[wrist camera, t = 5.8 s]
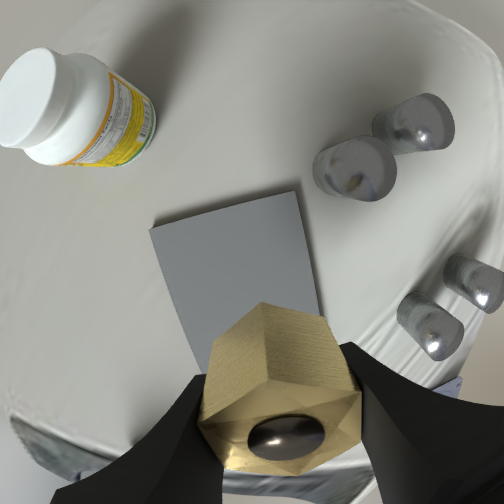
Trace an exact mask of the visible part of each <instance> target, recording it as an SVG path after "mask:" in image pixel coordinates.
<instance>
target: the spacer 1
mask: <svg viewBox="0 0 504 504" xmlns="http://www.w3.org/2000/svg"><path fill="white" fill-rule="evenodd" d="M312 171H313V177H314V180H315V182H316V184H317V185H318V187H319V188H320V189H321V190H323V191H324V192H326V193H328V194H330V195H335V196H340V197H346V198H351V199H356V200H361V201H367V202H372V201H377V200H380V199H382V198H383V197H385V196H386V195H387V194H388V193H389V192H390V191H391V189H392V188H393V186H394V184H395V181H396V175H397V167H396V162H395V159H394V156H393V154H392V152H391V151H390V149H389V148H388V147H387V145H385V144H384V143H383V142H382V141H380V140H379V139H377V138H375V137H371V136H358V137H355V138H352V139H350V140H347V141H345V142H342V143H340V144H337V145H335V146H332V147H330V148H327V149H325V150H323V151H321V152H320V153H319V154H318V155H317V157H316V158H315V160H314V163H313V169H312Z"/></svg>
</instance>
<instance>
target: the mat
mask: <svg viewBox="0 0 504 504" xmlns="http://www.w3.org/2000/svg"><path fill="white" fill-rule="evenodd" d="M149 233H150V236H151V239H152V242H153V246H154V249H155V252H156V255H157V258H158V261H159V264H160V267H161V270H162V273H163V276H164V279H165V282H166V285H167V287H168V290H169V293H170V296H171V298H172V301H173V304H174V307H175V309H176V312H177V314H178V317H179V320H180V322H181V325H182V327H183V330H184V332H185V335H186V337H187V340H188V342H189V345H190V347H191V349H192V352H193V354H194V356H195V359H196V361H197V363H198V366H199V368H200V370H201V372H202V374H207V370H208V366H209V361H210V356H211V351H212V346H213V342H214V341H215V340H216V339H217V338H218V337H220V336H221V335H222V334H223V333H224V332H226V331H227V330H228V329H229V328H230V327H232V326H233V325H234V324H235V323H236V322H238V321H239V320H240V319H241V318H242V317H243V316H245V315H246V314H247V313H248V312H249V311H251V310H252V309H253V308H254V307H255V306H256V305H258V304H259V303H260V302H264V303H268V304H272V305H276V306H280V307H284V308H288V309H292V310H296V311H301V312H305V313H309V314H313V315H318V316H320V313H319V307H318V301H317V296H316V290H315V285H314V279H313V274H312V269H311V263H310V258H309V253H308V248H307V244H306V239H305V234H304V229H303V225H302V220H301V216H300V211H299V207H298V202H297V198H296V194H295V191H289V192H285V193H280V194H276V195H272V196H268V197H264V198H260V199H255V200H251V201H247V202H243V203H240V204H236V205H232V206H228V207H224V208H220V209H217V210H213V211H209V212H206V213H202V214H198V215H195V216H191V217H188V218H184V219H181V220H177V221H174V222H170V223H167V224H163V225H160V226H157V227H153V228H151V229H149Z"/></svg>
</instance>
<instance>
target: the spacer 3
mask: <svg viewBox="0 0 504 504" xmlns="http://www.w3.org/2000/svg"><path fill="white" fill-rule="evenodd" d="M397 320H398V322H399V324H400V325H401V326H402V327H403V328H404V329H405V330H406V331H407V332H408V333H409V334H410V336H411V337H412V338H413V339H414V340H415V341H416V342H417V343H418V344H419V345H420V346H421V347H422V349H423V350H424V351H425V352H426V353H427V354H428V355H429V356H430V357H431V359H432V360H434V361H442V360H445V359H446V358H448V357H450V356H451V355H452V354H453V353H454V352H455V351H456V350H457V348H458V347H459V345H460V344H461V341H462V339H463V336H464V326H463V324H462V323H461V322H460V321H459V320H458V319H457V318H455V317H454V316H453V315H451V314H450V313H449V312H447V311H446V310H445V309H444V308H442V307H441V306H440V305H438V304H437V303H436V302H434V301H433V300H432V299H430V298H429V297H428V296H426V295H425V294H424V293H422V292H413V293H411V294H409V295H407V296H406V297H405V298H404V299H403V300H402V302H401V303H400V305H399V307H398V310H397Z"/></svg>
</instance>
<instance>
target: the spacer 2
mask: <svg viewBox="0 0 504 504" xmlns="http://www.w3.org/2000/svg"><path fill="white" fill-rule="evenodd" d="M372 134H373V137H375V138H377V139H379V140H380V141H382V142H383V143H384V144H385V145H387V147H388V148H389V149H390V151H391V152H392V154H393V155H396V154H404V153H412V152H420V151H429V150H439V149H445V148H447V147H448V146H449V145H450V144H451V143H452V141H453V138H454V134H455V124H454V120H453V116H452V114H451V112H450V110H449V108H448V107H447V105H446V104H445V103H444V102H443V101H442V100H441V99H440V98H439V97H437V96H435V95H433V94H429V93H424V94H421V95H418V96H416V97H414V98H411V99H409V100H407V101H405V102H402V103H400V104H398V105H396V106H394V107H391V108H389V109H387V110H385V111H383V112H381V113H379V114H378V115H377V116H376V117H375V118H374V120H373V123H372Z"/></svg>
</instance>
